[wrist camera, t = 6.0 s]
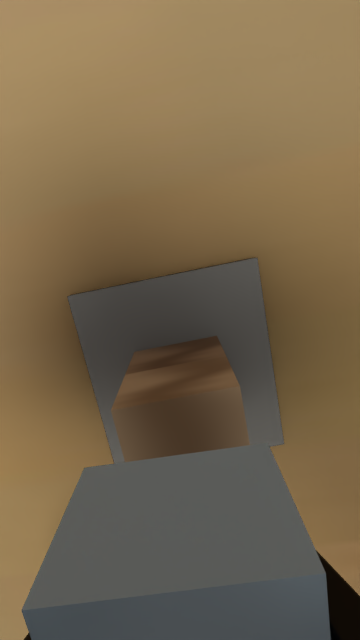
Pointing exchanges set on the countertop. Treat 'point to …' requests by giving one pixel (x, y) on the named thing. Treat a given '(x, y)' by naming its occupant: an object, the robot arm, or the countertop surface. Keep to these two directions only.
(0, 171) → the countertop surface
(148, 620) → the pale grey cube
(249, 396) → the mat
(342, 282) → the countertop surface
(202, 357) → the tower base
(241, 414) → the tower top
